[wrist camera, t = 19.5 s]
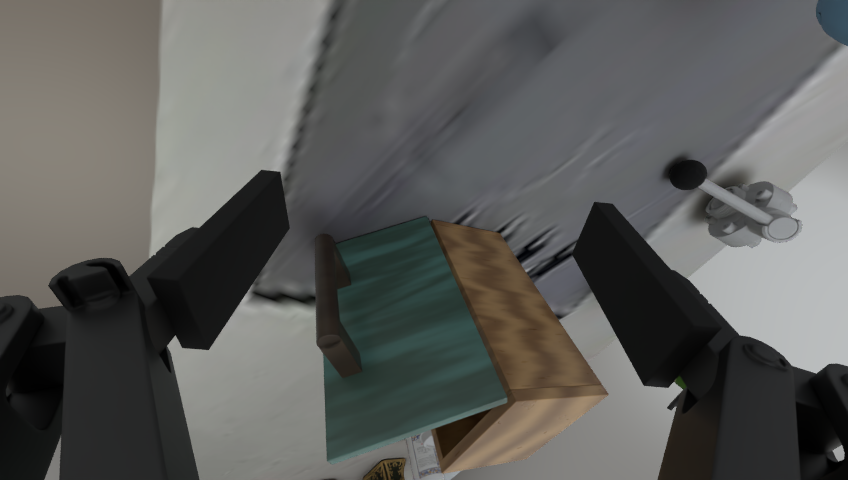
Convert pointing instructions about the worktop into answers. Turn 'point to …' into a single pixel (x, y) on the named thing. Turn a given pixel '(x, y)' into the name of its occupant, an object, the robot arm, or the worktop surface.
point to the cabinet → (511, 357)
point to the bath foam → (423, 460)
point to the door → (395, 340)
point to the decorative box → (388, 470)
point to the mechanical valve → (741, 208)
